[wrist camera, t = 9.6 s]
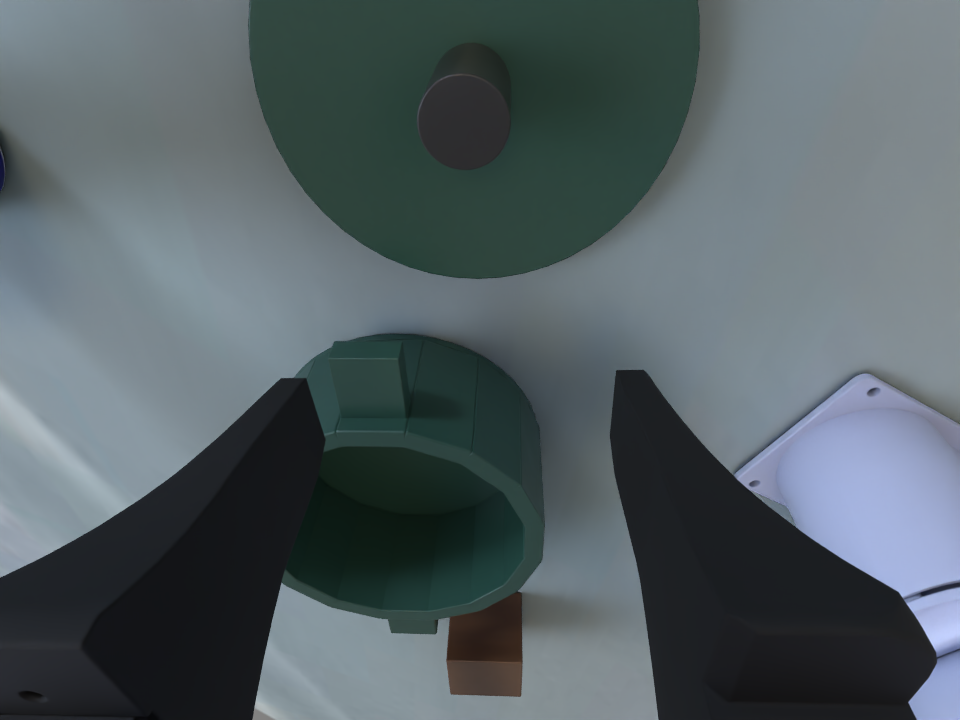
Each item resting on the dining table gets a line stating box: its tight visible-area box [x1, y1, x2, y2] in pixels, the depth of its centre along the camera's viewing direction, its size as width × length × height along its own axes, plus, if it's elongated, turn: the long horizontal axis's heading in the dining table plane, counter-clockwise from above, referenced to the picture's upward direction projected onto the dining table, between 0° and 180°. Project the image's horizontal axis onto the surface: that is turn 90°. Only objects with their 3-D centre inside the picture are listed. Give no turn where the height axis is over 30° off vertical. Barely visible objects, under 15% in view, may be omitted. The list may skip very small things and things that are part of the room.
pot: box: [282, 334, 545, 634], centre depth 27 cm, size 13×18×6 cm
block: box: [446, 593, 523, 697], centre depth 37 cm, size 4×4×4 cm
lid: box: [248, 0, 700, 279], centre depth 17 cm, size 14×14×5 cm
